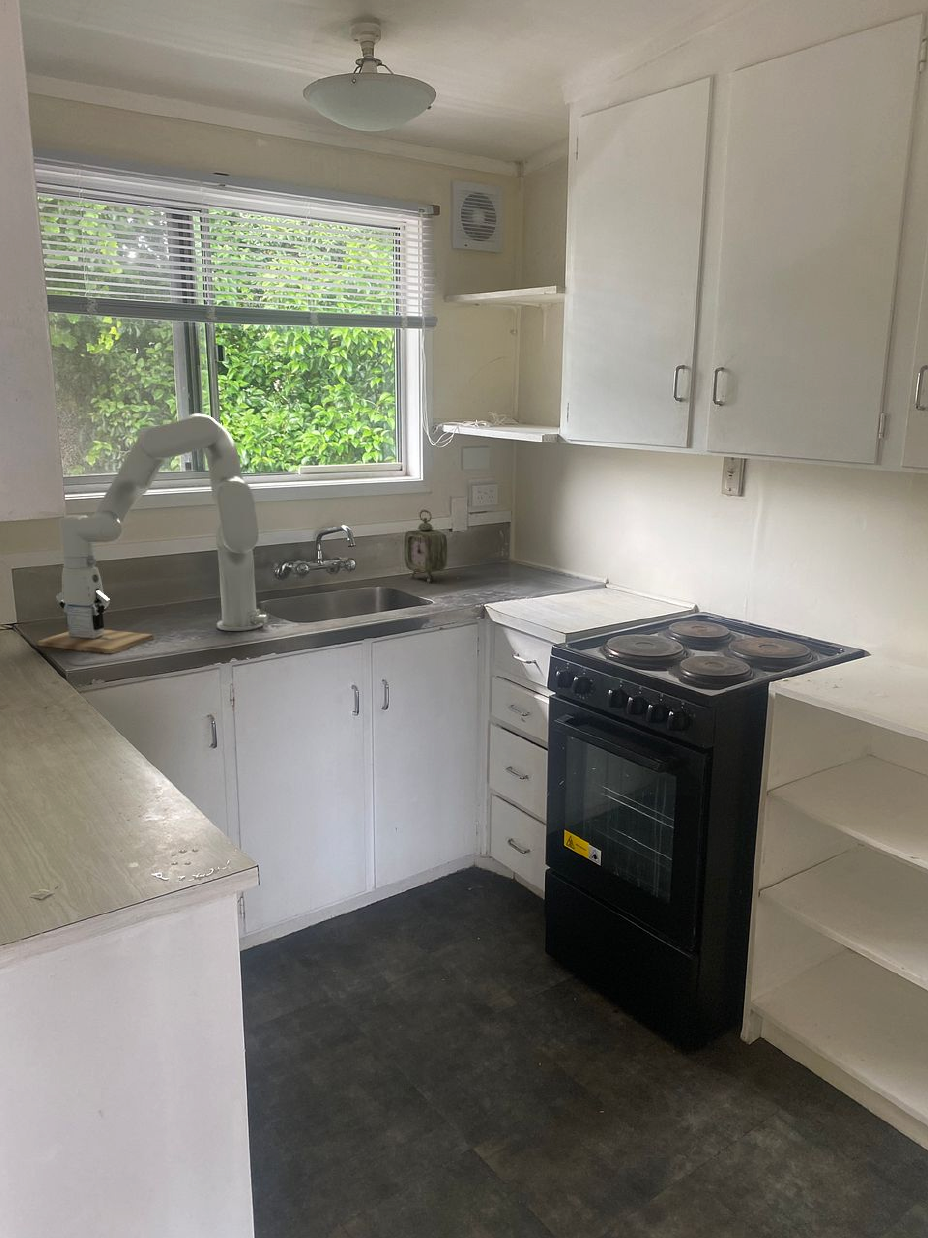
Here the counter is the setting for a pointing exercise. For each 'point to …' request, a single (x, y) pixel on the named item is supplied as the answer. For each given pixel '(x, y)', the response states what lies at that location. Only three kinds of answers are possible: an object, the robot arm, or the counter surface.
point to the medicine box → (81, 622)
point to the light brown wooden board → (97, 641)
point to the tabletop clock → (425, 549)
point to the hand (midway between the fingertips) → (85, 627)
